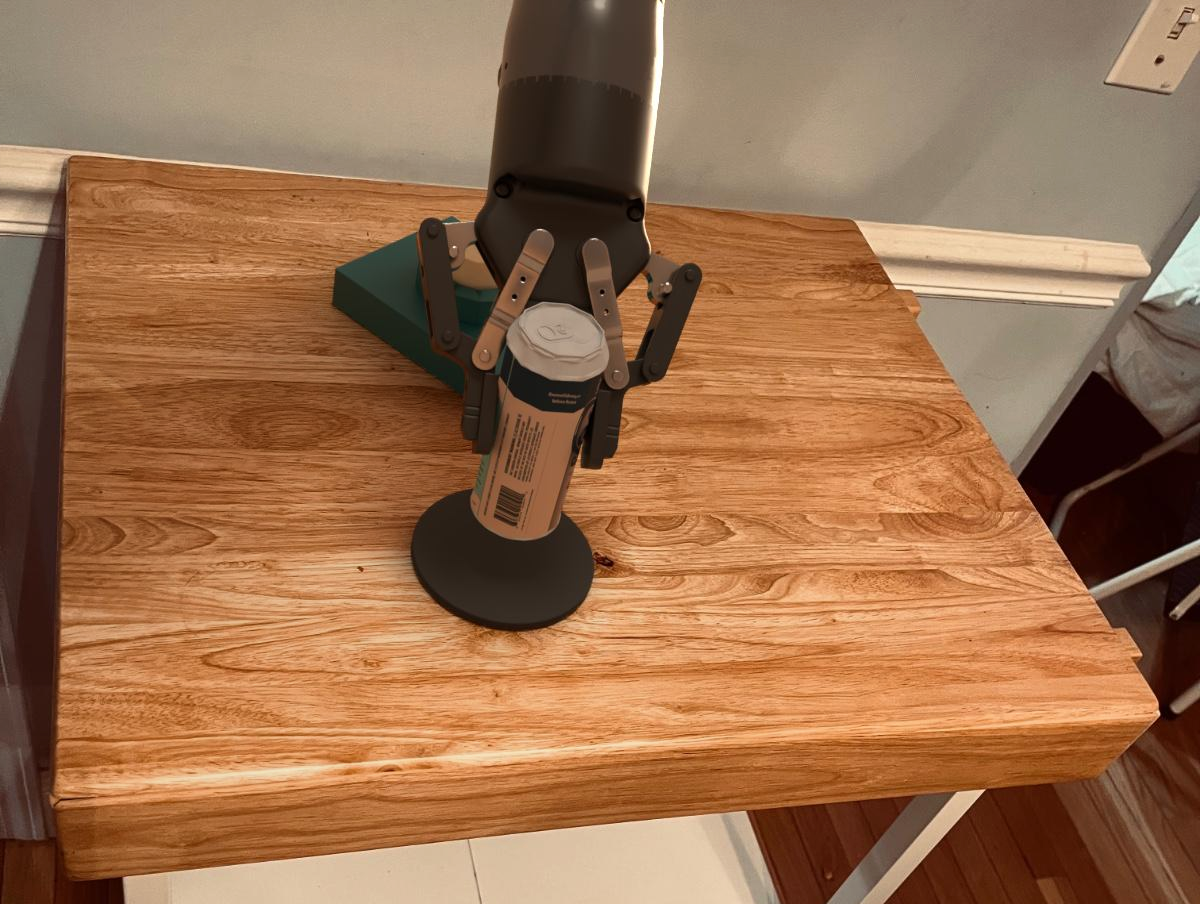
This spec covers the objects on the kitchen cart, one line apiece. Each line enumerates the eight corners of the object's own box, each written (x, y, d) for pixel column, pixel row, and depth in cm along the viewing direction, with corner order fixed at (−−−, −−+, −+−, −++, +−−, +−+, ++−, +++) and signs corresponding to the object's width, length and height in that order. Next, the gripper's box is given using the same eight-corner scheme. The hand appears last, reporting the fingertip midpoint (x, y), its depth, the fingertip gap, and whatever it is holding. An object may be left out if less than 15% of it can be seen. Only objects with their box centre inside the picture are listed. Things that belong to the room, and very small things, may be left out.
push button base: (331, 304, 76) (337, 243, 72) (446, 249, 83) (455, 191, 79) (485, 412, 72) (498, 354, 69) (591, 346, 79) (607, 290, 76)
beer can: (574, 536, 62) (633, 355, 53) (493, 556, 60) (541, 370, 51) (533, 473, 65) (582, 290, 56) (453, 490, 62) (492, 302, 53)
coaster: (371, 551, 63) (372, 543, 62) (492, 469, 69) (494, 461, 69) (515, 662, 60) (517, 655, 60) (627, 566, 67) (629, 559, 66)
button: (429, 266, 74) (434, 238, 72) (471, 246, 76) (476, 218, 75) (478, 299, 73) (483, 271, 71) (518, 278, 75) (525, 250, 74)
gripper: (432, 38, 51) (389, 438, 52) (748, 104, 54) (702, 479, 55) (420, 96, 58) (382, 445, 59) (699, 151, 61) (659, 481, 62)
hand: (537, 459), depth 57 cm, fingers closed on beer can, 4 cm apart
